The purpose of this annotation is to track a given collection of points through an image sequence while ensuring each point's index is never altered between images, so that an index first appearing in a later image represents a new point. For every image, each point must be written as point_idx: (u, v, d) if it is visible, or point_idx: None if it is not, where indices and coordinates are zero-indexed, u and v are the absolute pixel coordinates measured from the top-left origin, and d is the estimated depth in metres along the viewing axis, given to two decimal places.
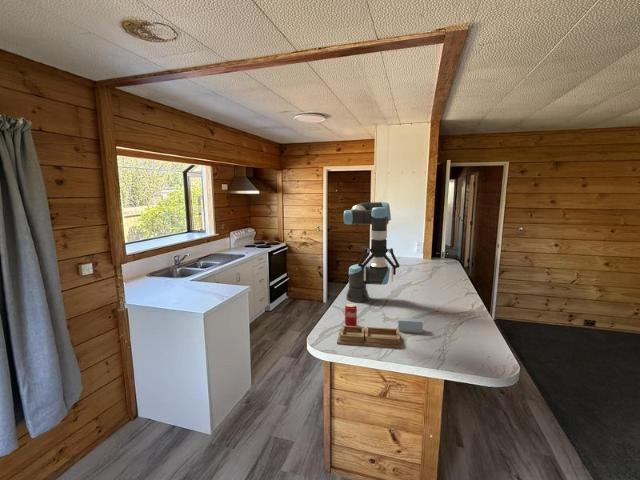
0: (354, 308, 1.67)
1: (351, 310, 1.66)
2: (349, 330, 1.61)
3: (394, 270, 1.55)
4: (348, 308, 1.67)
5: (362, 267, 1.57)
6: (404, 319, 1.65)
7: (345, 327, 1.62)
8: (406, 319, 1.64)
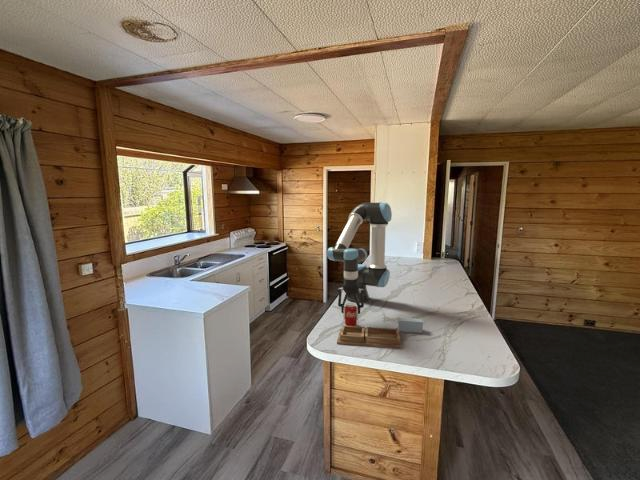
0: (354, 308, 1.67)
1: (351, 310, 1.66)
2: (349, 330, 1.61)
3: (359, 310, 1.68)
4: (348, 308, 1.67)
5: (342, 307, 1.69)
6: (404, 319, 1.65)
7: (345, 327, 1.62)
8: (406, 319, 1.64)
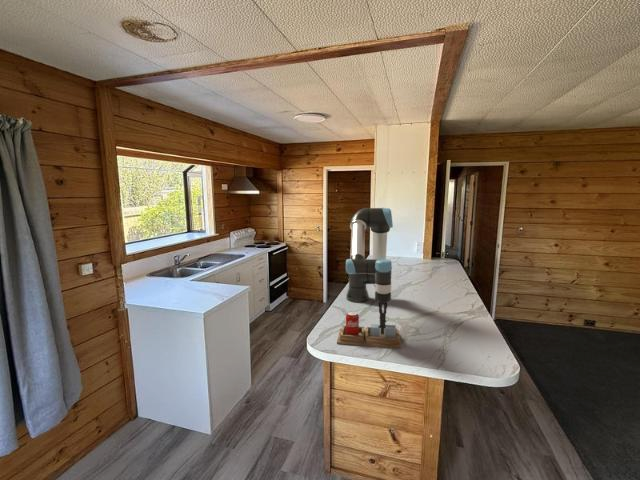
0: (356, 317, 1.53)
1: (353, 319, 1.52)
2: None
3: (381, 329, 1.50)
4: (349, 317, 1.53)
5: None
6: (377, 325, 1.54)
7: (345, 327, 1.62)
8: None
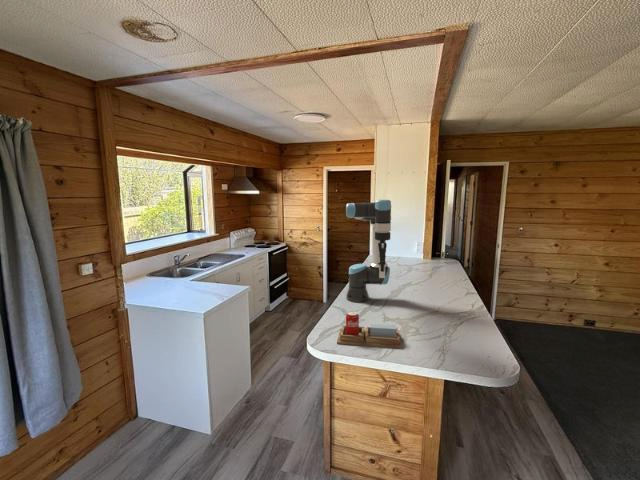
0: (356, 317, 1.53)
1: (353, 319, 1.52)
2: None
3: (380, 266, 1.48)
4: (349, 317, 1.53)
5: (379, 256, 1.63)
6: (377, 325, 1.54)
7: (345, 327, 1.62)
8: (379, 326, 1.54)
